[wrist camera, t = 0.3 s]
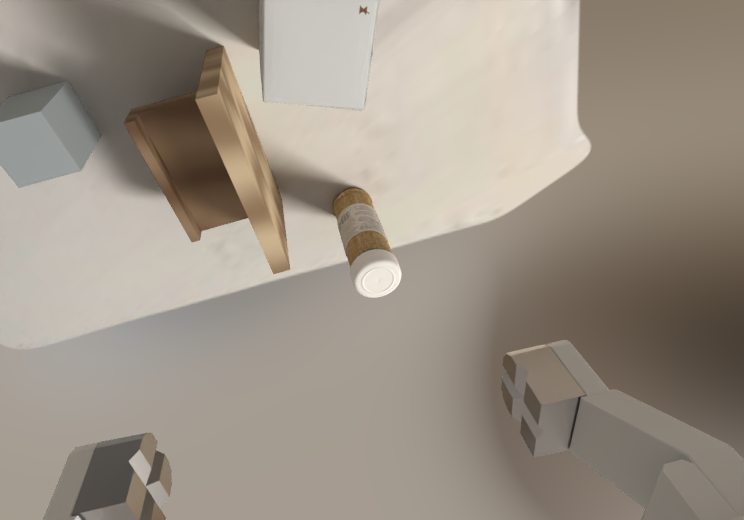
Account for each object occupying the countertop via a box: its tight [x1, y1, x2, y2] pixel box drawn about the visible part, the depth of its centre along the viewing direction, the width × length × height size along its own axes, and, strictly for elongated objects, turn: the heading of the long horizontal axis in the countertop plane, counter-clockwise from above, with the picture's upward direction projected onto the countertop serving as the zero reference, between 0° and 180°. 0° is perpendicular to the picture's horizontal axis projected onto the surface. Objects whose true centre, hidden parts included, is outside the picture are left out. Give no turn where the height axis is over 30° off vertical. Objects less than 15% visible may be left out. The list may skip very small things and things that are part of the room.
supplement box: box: [259, 0, 380, 111], centre depth 35 cm, size 7×7×13 cm
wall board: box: [124, 46, 290, 274], centre depth 40 cm, size 16×8×12 cm, turn 11°
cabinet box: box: [0, 81, 101, 188], centre depth 38 cm, size 5×6×7 cm
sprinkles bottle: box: [333, 188, 401, 298], centre depth 47 cm, size 5×5×13 cm
